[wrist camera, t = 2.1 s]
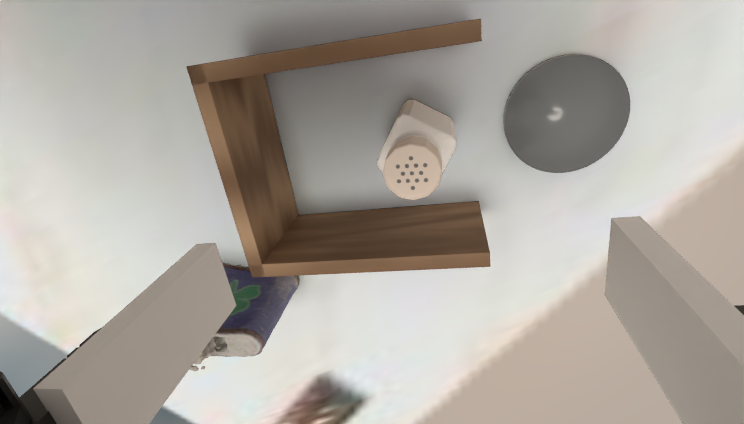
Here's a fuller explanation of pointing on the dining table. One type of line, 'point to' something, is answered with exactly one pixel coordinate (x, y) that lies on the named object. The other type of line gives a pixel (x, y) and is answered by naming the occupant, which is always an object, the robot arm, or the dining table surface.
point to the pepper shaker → (417, 150)
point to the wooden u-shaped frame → (273, 187)
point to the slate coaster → (566, 113)
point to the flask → (249, 313)
